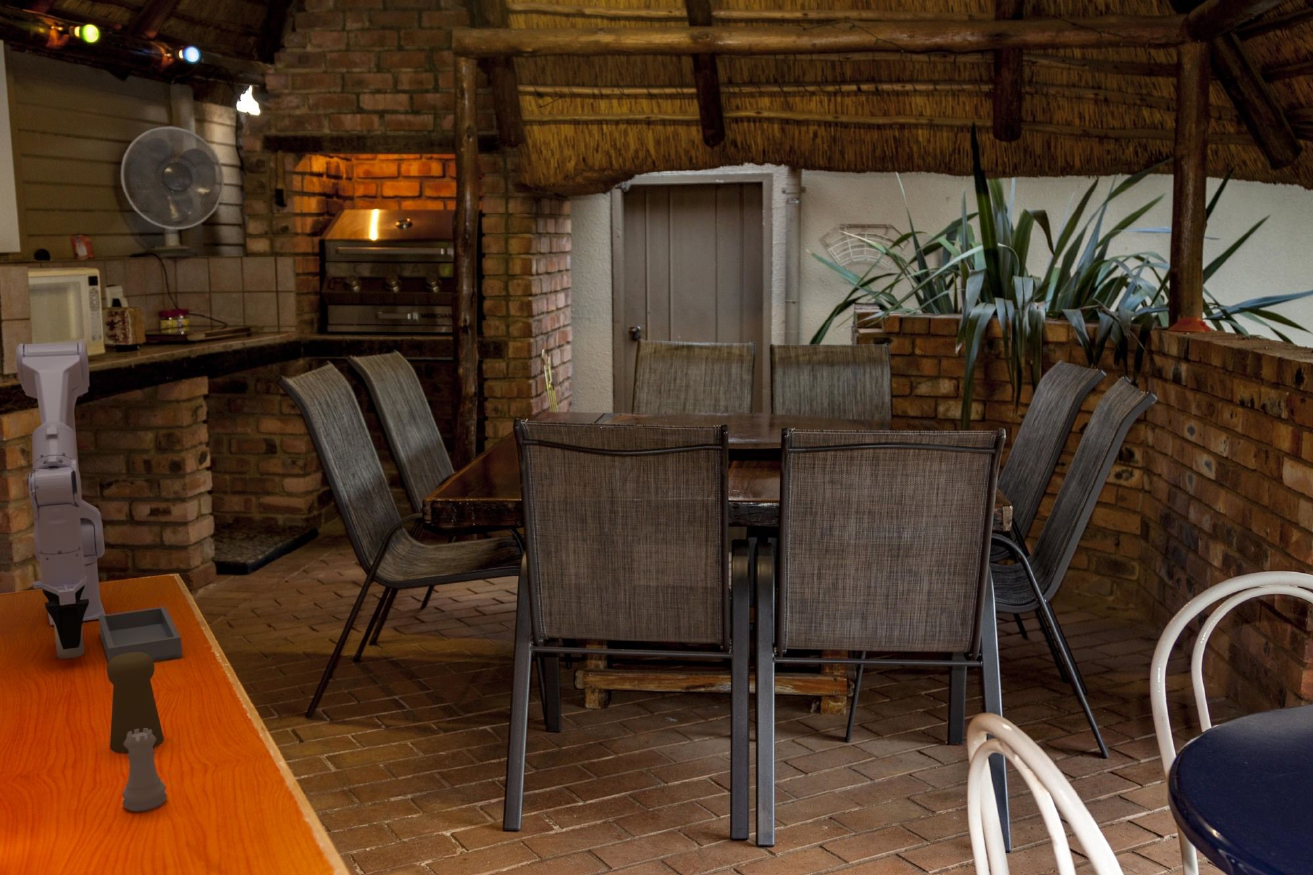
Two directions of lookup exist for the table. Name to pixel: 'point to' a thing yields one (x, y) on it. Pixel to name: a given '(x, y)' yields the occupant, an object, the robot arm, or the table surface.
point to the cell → (68, 652)
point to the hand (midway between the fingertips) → (69, 640)
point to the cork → (132, 699)
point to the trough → (140, 634)
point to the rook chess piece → (142, 774)
